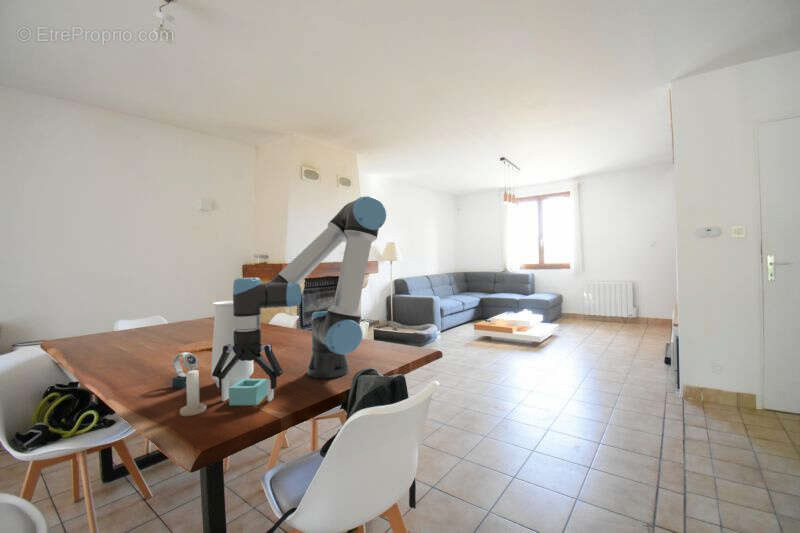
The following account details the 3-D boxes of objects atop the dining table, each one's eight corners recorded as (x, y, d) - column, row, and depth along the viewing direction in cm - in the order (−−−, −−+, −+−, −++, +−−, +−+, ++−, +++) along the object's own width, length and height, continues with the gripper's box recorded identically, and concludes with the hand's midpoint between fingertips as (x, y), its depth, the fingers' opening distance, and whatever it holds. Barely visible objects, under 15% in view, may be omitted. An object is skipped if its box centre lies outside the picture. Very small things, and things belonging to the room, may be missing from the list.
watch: (188, 389, 114) (187, 355, 114) (168, 387, 116) (167, 354, 116) (201, 383, 120) (201, 351, 120) (182, 381, 122) (182, 350, 122)
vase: (257, 376, 126) (255, 299, 126) (249, 388, 114) (247, 303, 113) (218, 379, 124) (216, 300, 123) (206, 392, 111) (204, 305, 111)
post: (211, 406, 100) (210, 368, 100) (197, 416, 93) (196, 375, 93) (189, 406, 100) (188, 368, 100) (174, 416, 93) (173, 375, 93)
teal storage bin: (267, 394, 108) (267, 378, 108) (256, 405, 100) (256, 387, 100) (242, 394, 108) (242, 378, 108) (229, 405, 100) (228, 388, 100)
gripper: (292, 326, 107) (293, 394, 108) (213, 326, 108) (213, 394, 108) (284, 331, 100) (285, 404, 100) (198, 331, 101) (199, 404, 101)
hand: (248, 399), depth 104 cm, fingers open, 13 cm apart
